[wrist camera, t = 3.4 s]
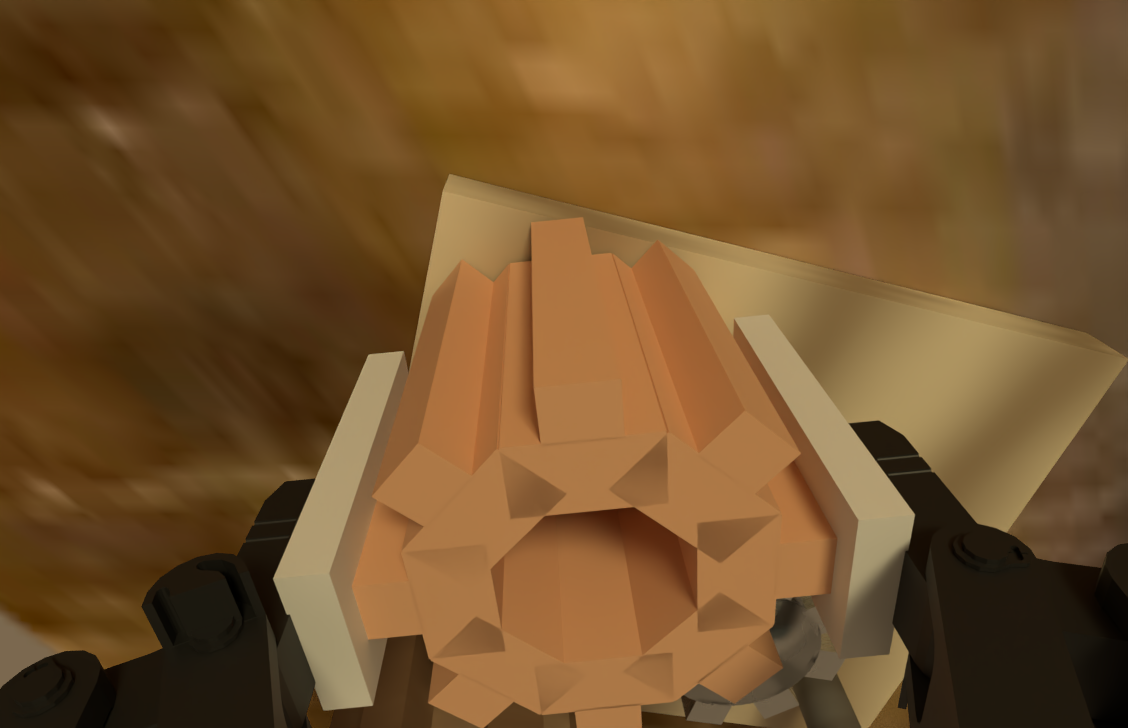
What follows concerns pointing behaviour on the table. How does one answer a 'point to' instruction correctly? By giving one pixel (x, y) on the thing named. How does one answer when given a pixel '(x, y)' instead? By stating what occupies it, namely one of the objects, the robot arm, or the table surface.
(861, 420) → the carrier
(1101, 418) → the table surface
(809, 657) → the sun gear
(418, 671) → the pinned planet gear
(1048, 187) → the table surface
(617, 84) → the table surface
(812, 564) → the planet gear
